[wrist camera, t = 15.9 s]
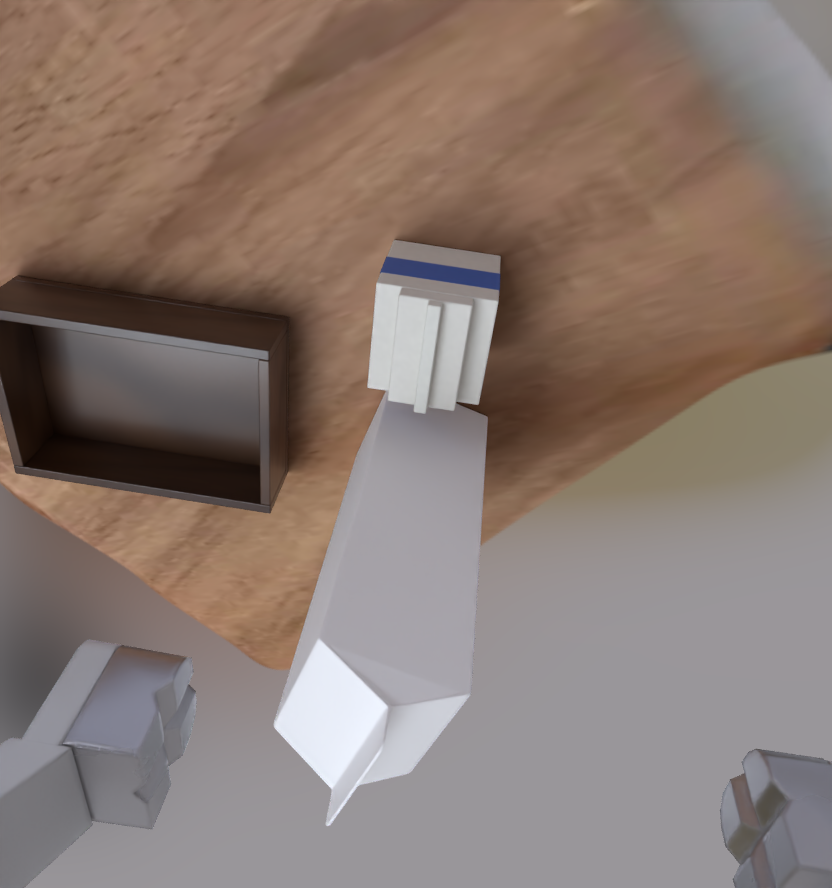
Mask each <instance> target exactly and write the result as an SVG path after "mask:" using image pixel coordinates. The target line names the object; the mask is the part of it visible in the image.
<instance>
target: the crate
mask: <svg viewBox="0 0 832 888" xmlns="http://www.w3.org/2000/svg"><path fill="white" fill-rule="evenodd" d="M288 396H289V317H285V316H279V315H272V314H266V313H259V312H252V311H246V310H239V309H232V308H226V307H219V306H212V305H206V304H199V303H192V302H186V301H179V300H172V299H166V298H159V297H153V296H146V295H139V294H133V293H126V292H119V291H113V290H106V289H99V288H93V287H86V286H79V285H73V284H66V283H59V282H53V281H46V280H40V279H33V278H26V277H20V276H16V277H14V278H13V279H12V280H10V281H8V282H7V283H6V284H4V285H3V286H1V287H0V414H1V418H2V421H3V425H4V429H5V433H6V437H7V441H8V445H9V448H10V452H11V456H12V460H13V464H14V468H15V472H16V473H17V474H24V475H30V476H36V477H43V478H49V479H55V480H62V481H68V482H74V483H81V484H87V485H93V486H100V487H106V488H112V489H119V490H125V491H131V492H138V493H144V494H150V495H157V496H163V497H169V498H176V499H182V500H188V501H195V502H201V503H207V504H214V505H220V506H226V507H232V508H239V509H245V510H251V511H258V512H264V513H271V511H272V508H273V506H274V504H275V501H276V499H277V497H278V494H279V492H280V489H281V487H282V485H283V482H284V480H285V478H286V475H287V473H288Z"/></svg>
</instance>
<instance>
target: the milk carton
mask: <svg viewBox="0 0 832 888" xmlns="http://www.w3.org/2000/svg"><path fill="white" fill-rule="evenodd" d="M500 262H501V256H498V255H492V254H485V253H478V252H472V251H465V250H459V249H452V248H445V247H439V246H432V245H426V244H419V243H412V242H406V241H399V240H394V241H393V243H392V246H391V248H390V251H389V253H388V256H387V257H386V259H385V262H384V264H383V267H382V269H381V272H380V276H379V278H378V281H377V284H376V295H375V306H374V317H373V329H372V340H371V351H370V363H369V374H368V385H367V387H368V388H373V389H379V390H386V391H388V401H393V402H399V403H405V404H412V405H414V409H413V411H414V412H417V413H423V414H425V413H426V411H427V407H431V408H437V409H444V410H450V411H454V410H455V407H456V402H462V403H469V404H475V405H478V404H479V401H480V396H481V391H482V386H483V380H484V375H485V370H486V365H487V360H488V355H489V349H490V344H491V339H492V334H493V329H494V324H495V318H496V313H497V308H498V303H499V292H500Z"/></svg>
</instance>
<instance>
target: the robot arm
mask: <svg viewBox="0 0 832 888" xmlns="http://www.w3.org/2000/svg"><path fill="white" fill-rule="evenodd" d="M193 672H194V671H193V665H192V659H191V658H190V657H184V656H179V655H174V654H168V653H163V652H157V651H151V650H146V649H141V648H135V647H129V646H124V645H120V644H114V643H108V642H102V641H95V640H89V639H88V640H86V641H85V642H84V643H83V644H82V645H81V646H80V647H79V648H78V649H77V650H76V652H75V653H74V655H73V657H72V658H71V660H70V662H69V663H68V665H67V666H66V668H65V670H64V671H63V673H62V674H61V676H60V678H59V679H58V681H57V682H56V684H55V686H54V687H53V689H52V690H51V692H50V694H49V695H48V697H47V698H46V700H45V702H44V703H43V705H42V707H41V708H40V710H39V711H38V713H37V715H36V716H35V718H34V719H33V721H32V723H31V724H30V726H29V728H28V729H27V731H26V732H25V734H24V736H23V737H22V738H15V737H11V738H9V739H8V740H6V741H5V742H3V743H2V744H0V888H24V887H25V886H27V885H28V884H29V883H30V882H31V881H32V880H33V879H34V878H35V877H36V876H37V875H39V874H40V873H41V872H42V871H43V870H44V869H45V868H46V867H47V866H48V865H50V864H51V863H52V862H53V861H54V860H55V859H56V858H57V857H58V856H59V855H60V854H62V853H63V852H64V851H65V850H66V849H67V848H68V847H69V846H70V845H71V844H73V843H74V842H75V841H76V840H77V839H78V838H79V837H80V836H81V835H82V834H83V833H85V831H87V830H88V829H89V828H90V827H91V826H92V824H93V823H92V821H96V822H103V823H110V824H118V825H124V826H132V827H139V828H146V829H153V827H154V824H155V822H156V819H157V817H158V815H159V812H160V810H161V807H162V805H163V802H164V800H165V798H166V795H167V793H168V790H169V788H170V785H171V781H170V774H169V767H168V766H170V765H171V764H172V763H173V762H175V761H176V760H177V759H179V758H180V757H181V756H182V755H183V753H184V751H185V748H186V746H187V743H188V741H189V738H190V735H191V731H192V727H193V723H194V719H195V713H196V691H195V690H194V689H193V688H192V687H191V686H190V685H189V682H190V679H191V677H192V674H193ZM742 765H743V768H744V774H742V775H739V776H737V777H735V778H733V779H730V781H729V783H728V785H727V787H726V788H725V790H724V792H723V796H722V803H721V809H720V815H721V828H722V832H723V838H724V842H725V846H726V848H727V849H728V850H729V851H730V853H731V854H732V855H733V856H734V857H735V859H736V860H737V861H738V862H739V864H740V866H739V868H738V870H737V872H736V874H735V876H734V878H733V882H734V886H735V888H832V761H826V760H824V759H822V758H815V757H808V756H801V755H795V754H788V753H781V752H774V751H767V750H761V749H754V750H752V751H749V752H748V753H747V755H746V756H745V758H744V759H743V761H742Z"/></svg>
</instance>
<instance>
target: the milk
mask: <svg viewBox="0 0 832 888" xmlns="http://www.w3.org/2000/svg"><path fill="white" fill-rule="evenodd" d="M413 409H414V405H412V404H405V403H399V402H393V401H388V391H386V392H385V394H384V396H383V398H382V400H381V403H380V405H379V407H378V409H377V411H376V413H375V416H374V418H373V420H372V422H371V424H370V426H369V429H368V431H367V433H366V435H365V437H364V439H363V442H362V444H361V446H360V448H359V450H358V452H357V455H356V458H355V462H354V465H353V468H352V471H351V475H350V478H349V481H348V484H347V487H346V491H345V494H344V497H343V500H342V504H341V507H340V510H339V513H338V517H337V520H336V523H335V526H334V530H333V533H332V536H331V539H330V543H329V546H328V549H327V552H326V556H325V559H324V562H323V565H322V569H321V572H320V575H319V578H318V581H317V585H316V588H315V591H314V594H313V598H312V601H311V604H310V607H309V611H308V614H307V617H306V620H305V624H304V627H303V630H302V633H301V637H300V640H299V643H298V646H297V650H296V653H295V656H294V659H293V663H292V666H291V669H290V672H289V676H288V679H287V682H286V685H285V689H284V692H283V695H282V698H281V701H280V705H279V708H278V711H277V715H276V718H275V721H274V727H275V729H276V730H277V731H278V732H279V733H280V734H281V735H282V736H283V737H284V739H285V740H286V741H287V742H288V743H289V744H290V745H291V746H292V747H293V748H294V749H295V750H296V751H297V752H298V754H300V756H301V757H302V758H303V759H304V760H305V761H306V762H307V763H308V764H309V765H310V766H311V767H312V769H313V770H314V771H315V772H316V773H317V774H318V775H319V776H320V777H321V778H322V779H323V780H324V781H325V783H326V784H327V785H328V786H329V787H330V788H331V789H332V794H331V800H330V804H329V809H328V814H327V819H326V825H327V826H330V825H331V823H332V822H333V820H334V819H335V818H336V816H337V815H338V813H339V812H340V811H341V809H342V808H343V806H344V805H345V804H346V802H347V801H348V799H349V798H350V796H351V795H352V794H353V792H354V791H355V789H356V788H357V786H358V785H362V784H366V783H371V782H375V781H379V780H384V779H388V778H392V777H396V776H401V775H405V774H408V773H410V772H411V771H412V770H413V768H414V767H415V766H416V765H417V763H418V762H419V761H420V759H421V758H422V757H423V755H424V754H425V753H426V752H427V750H428V749H429V748H430V747H431V745H432V744H433V743H434V741H435V740H436V739H437V738H438V736H439V735H440V734H441V732H442V731H443V730H444V728H445V727H446V726H447V725H448V723H449V722H450V721H451V720H452V718H453V717H454V716H455V714H456V713H457V712H458V711H459V709H460V708H461V707H462V705H463V704H464V703H465V701H466V700H467V699H468V698H469V696H470V695H471V690H472V674H473V657H474V640H475V623H476V606H477V590H478V574H479V557H480V541H481V524H482V507H483V491H484V474H485V458H486V441H487V424H488V417H487V416H485V415H483V414H480V413H478V412H475V411H473V410H471V409H468V408H466V407H463V406H461V405H459V404H456V407H455V410H454V411H450V410H444V409H437V408H431V407H427V411H426V413H425V414H423V413H417V412H414V411H413Z"/></svg>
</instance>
